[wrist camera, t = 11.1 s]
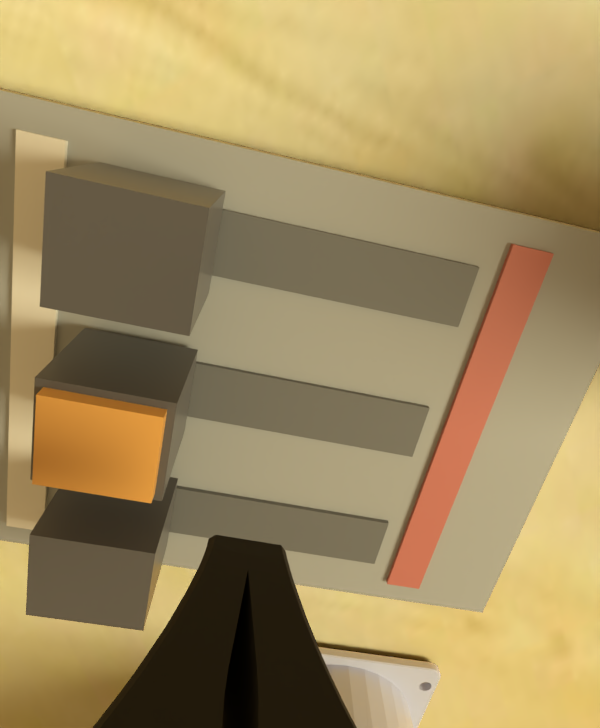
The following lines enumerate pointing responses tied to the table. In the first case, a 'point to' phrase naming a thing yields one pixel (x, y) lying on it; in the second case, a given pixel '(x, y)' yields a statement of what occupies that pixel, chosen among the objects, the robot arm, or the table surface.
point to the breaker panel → (326, 358)
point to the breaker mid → (111, 415)
